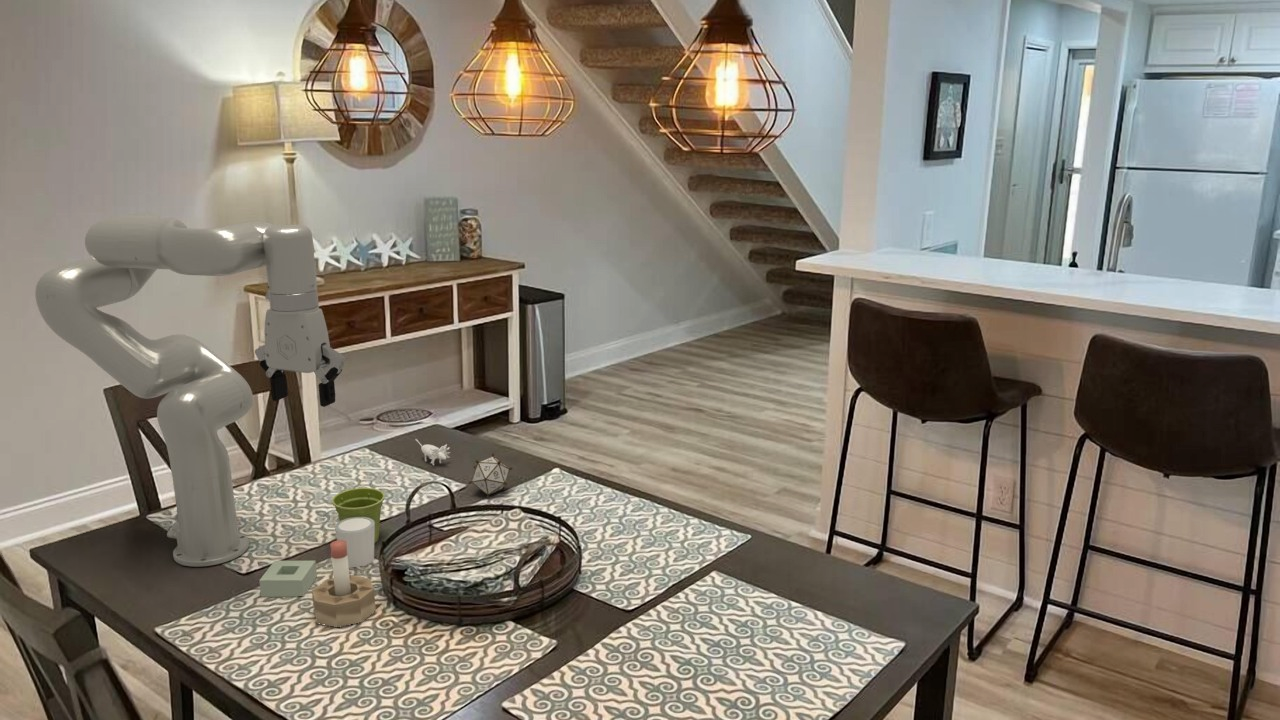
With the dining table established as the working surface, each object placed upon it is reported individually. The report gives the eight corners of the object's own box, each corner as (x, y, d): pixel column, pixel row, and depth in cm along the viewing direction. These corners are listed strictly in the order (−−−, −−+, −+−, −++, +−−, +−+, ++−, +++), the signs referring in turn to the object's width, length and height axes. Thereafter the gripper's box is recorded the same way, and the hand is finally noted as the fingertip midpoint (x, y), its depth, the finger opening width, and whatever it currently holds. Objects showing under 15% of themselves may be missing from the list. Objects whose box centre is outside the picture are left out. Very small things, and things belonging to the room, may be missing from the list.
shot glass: (366, 570, 168) (363, 534, 166) (330, 567, 169) (326, 530, 167) (384, 553, 174) (381, 517, 172) (349, 550, 175) (346, 514, 174)
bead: (303, 620, 151) (300, 598, 150) (338, 594, 160) (336, 572, 159) (351, 631, 148) (349, 607, 147) (385, 603, 157) (383, 581, 156)
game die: (490, 506, 204) (495, 460, 207) (517, 501, 198) (522, 454, 202) (457, 496, 197) (463, 449, 201) (484, 491, 192) (490, 443, 196)
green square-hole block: (261, 596, 159) (259, 580, 158) (276, 576, 166) (274, 560, 165) (303, 596, 159) (301, 580, 158) (317, 576, 166) (315, 560, 165)
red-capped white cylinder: (334, 614, 153) (327, 545, 150) (343, 607, 155) (336, 539, 152) (346, 617, 152) (340, 547, 149) (355, 609, 155) (349, 541, 152)
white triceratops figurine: (454, 465, 216) (453, 445, 215) (434, 471, 213) (432, 451, 212) (426, 451, 225) (425, 432, 224) (406, 457, 221) (404, 437, 220)
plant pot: (396, 531, 183) (393, 489, 181) (374, 554, 174) (371, 509, 172) (350, 528, 184) (346, 486, 182) (326, 550, 175) (322, 506, 173)
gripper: (235, 302, 157) (246, 402, 161) (323, 309, 151) (333, 413, 155) (266, 294, 163) (276, 390, 168) (352, 300, 158) (361, 400, 162)
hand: (303, 401), depth 162 cm, fingers open, 9 cm apart
